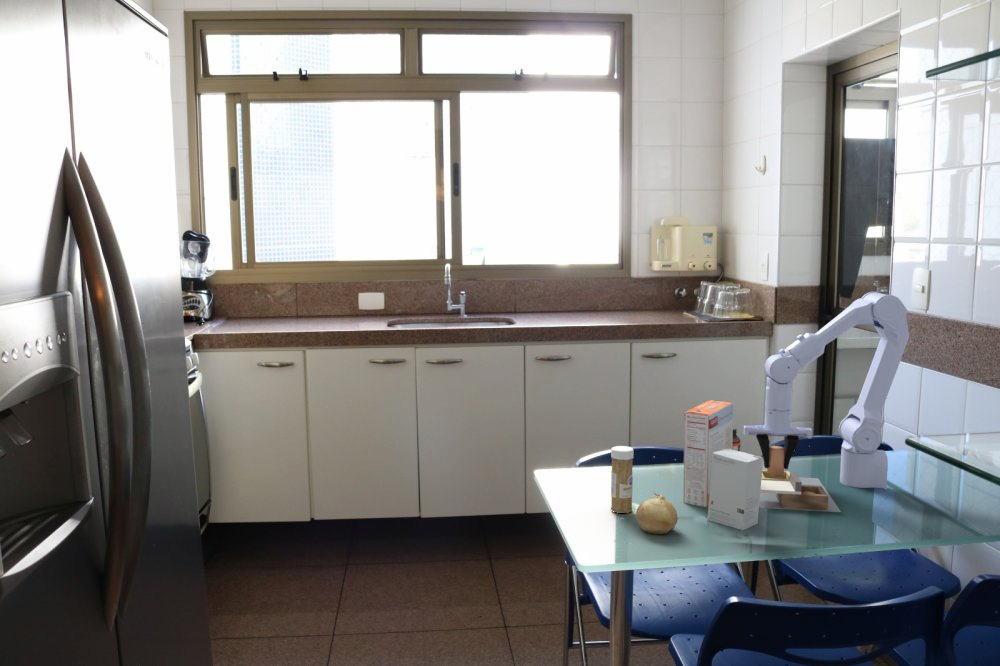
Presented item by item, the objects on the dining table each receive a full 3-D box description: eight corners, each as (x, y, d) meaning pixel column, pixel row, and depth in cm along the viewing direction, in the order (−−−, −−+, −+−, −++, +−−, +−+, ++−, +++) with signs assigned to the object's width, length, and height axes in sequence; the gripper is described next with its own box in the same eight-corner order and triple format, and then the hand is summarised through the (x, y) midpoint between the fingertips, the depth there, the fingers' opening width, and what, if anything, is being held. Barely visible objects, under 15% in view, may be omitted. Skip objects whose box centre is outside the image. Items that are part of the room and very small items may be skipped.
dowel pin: (783, 472, 193) (784, 446, 192) (784, 477, 190) (786, 450, 189) (766, 471, 194) (767, 445, 193) (768, 475, 190) (769, 450, 190)
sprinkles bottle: (630, 515, 173) (631, 451, 172) (608, 513, 175) (609, 449, 173) (634, 508, 178) (635, 446, 176) (612, 506, 179) (613, 444, 177)
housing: (820, 499, 180) (821, 485, 179) (827, 510, 173) (828, 496, 172) (776, 497, 181) (776, 483, 181) (781, 508, 174) (782, 494, 174)
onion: (684, 535, 163) (685, 500, 162) (646, 540, 160) (647, 503, 159) (665, 521, 170) (666, 487, 169) (628, 525, 168) (629, 491, 167)
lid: (795, 484, 180) (795, 472, 180) (801, 494, 173) (801, 482, 173) (756, 482, 181) (756, 470, 181) (760, 492, 175) (761, 480, 174)
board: (817, 483, 194) (818, 471, 194) (840, 517, 172) (841, 504, 172) (745, 480, 197) (746, 468, 197) (759, 513, 175) (759, 500, 174)
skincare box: (706, 525, 168) (708, 452, 166) (723, 518, 172) (725, 446, 170) (744, 536, 162) (747, 461, 160) (760, 529, 166) (763, 455, 164)
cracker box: (706, 490, 189) (708, 398, 187) (732, 495, 186) (735, 402, 183) (680, 507, 178) (683, 410, 175) (708, 513, 175) (711, 414, 172)
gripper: (808, 405, 193) (806, 463, 194) (742, 403, 195) (740, 461, 197) (815, 412, 186) (812, 472, 187) (746, 410, 188) (744, 469, 190)
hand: (775, 467), depth 192 cm, fingers closed on dowel pin, 4 cm apart
